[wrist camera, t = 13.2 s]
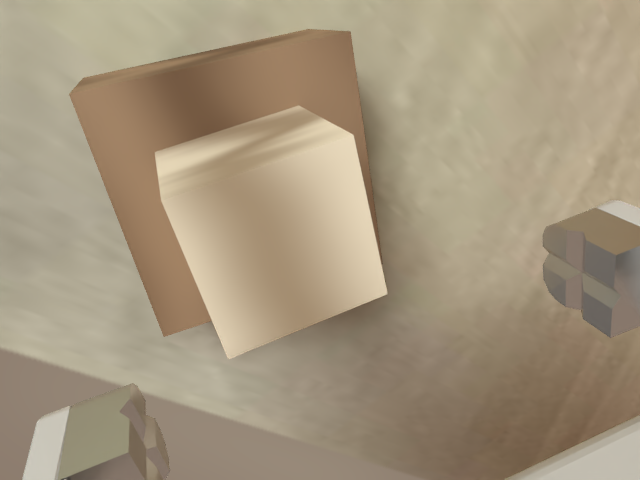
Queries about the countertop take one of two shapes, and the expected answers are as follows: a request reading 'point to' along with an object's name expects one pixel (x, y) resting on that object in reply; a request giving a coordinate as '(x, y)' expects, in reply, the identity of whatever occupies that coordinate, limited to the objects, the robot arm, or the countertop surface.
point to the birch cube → (272, 225)
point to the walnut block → (200, 120)
